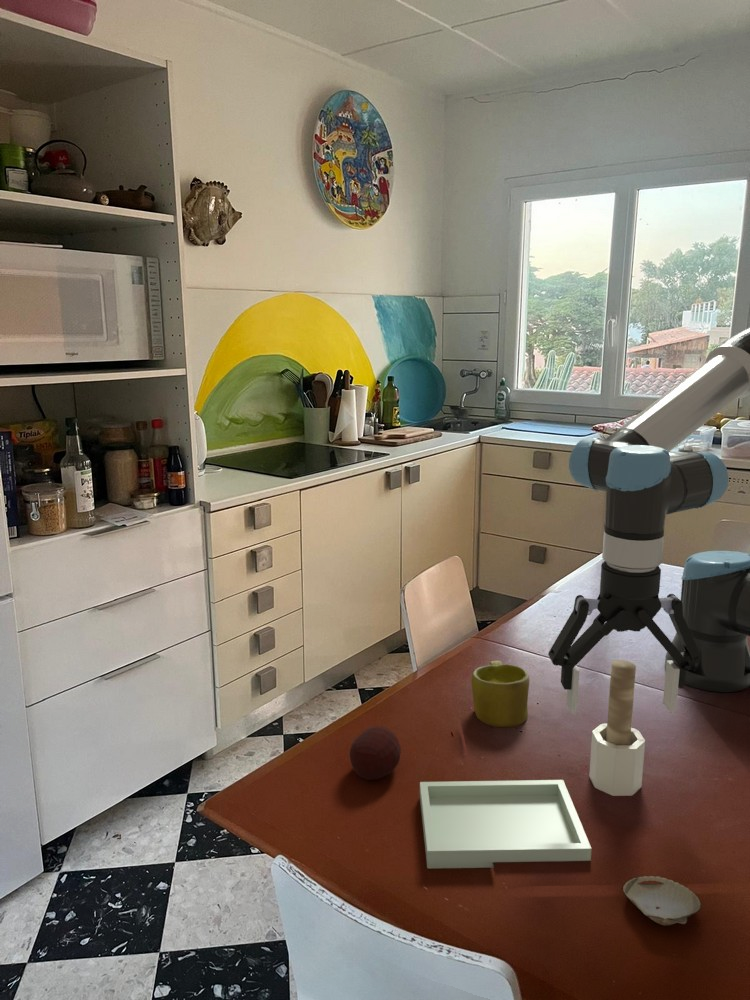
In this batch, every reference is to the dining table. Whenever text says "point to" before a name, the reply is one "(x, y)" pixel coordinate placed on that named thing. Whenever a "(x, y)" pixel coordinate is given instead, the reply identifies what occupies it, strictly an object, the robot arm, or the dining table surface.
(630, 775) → the crock
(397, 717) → the dining table surface
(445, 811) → the tray
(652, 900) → the seashell
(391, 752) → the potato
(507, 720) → the mug
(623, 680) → the dowel
